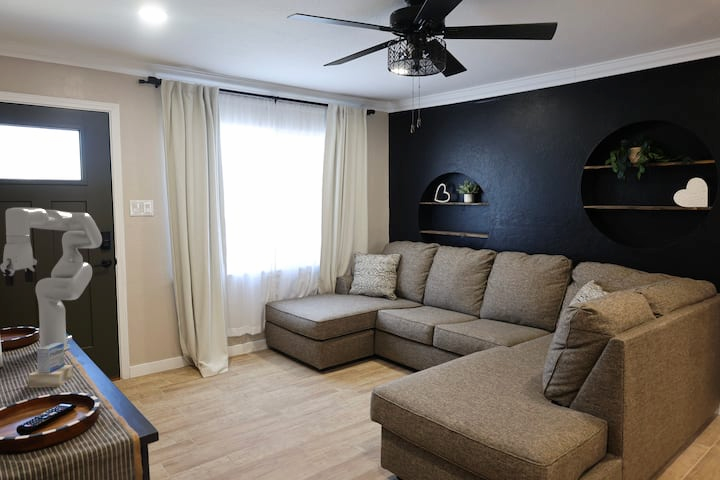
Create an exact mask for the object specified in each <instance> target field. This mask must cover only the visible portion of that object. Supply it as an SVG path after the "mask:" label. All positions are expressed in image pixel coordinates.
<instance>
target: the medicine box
mask: <svg viewBox="0 0 720 480" xmlns="http://www.w3.org/2000/svg"><path fill="white" fill-rule="evenodd" d="M36 349H37V348H36ZM36 354H37V355H36V357H37V370H38V373H51V372H53V371H55V370H57V369H59V368H61V367H63V366H64V365H66V364H65V351H64V343H52V344H49V345H47V346H44V347H42V348H39V349H37V352H36Z"/></svg>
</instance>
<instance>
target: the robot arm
mask: <svg viewBox="0 0 720 480" xmlns="http://www.w3.org/2000/svg"><path fill="white" fill-rule="evenodd" d="M31 228H33V229H39V230H53V231H62V232H63V231H65V232H64V233H63V234H62V238H61V244H62V252H63V253H62V256H61V258H60V259H59V260H58V262H57V263H55V265H54V267H53V269H52V271H51V272H50V277H45V278H42V279H40V280H39V281H37V283H36V285H35V295H36V299H37V304H38V315H39V316H38V318H39V344H40V345H39V346H38V347H36V349H35V352H36V353H37V349H39V348H42V347H44V346H47V345H49V344H52V343H64V352H66V351H68V350H70V348H71V344H69V343H68V342H69V341H71V340H72V339H73V337H72V335H68V336H67V330H66V329H67V327H66V321H67V320H66V307H65V305H64V303H63V301H73V300H77V299H79V298H80V297H81V295H83V292H84V291H85V289H86V288H87V286H88V285H89V283H90V282H91V280H92V277H93V268H92V265H91V264H89V263H88V262H86V261H83V260H84V258H83V255H82V254H81V253H80V251H79V250H78V249H96V248H99V247H101V245H102V243H103V237H102V234H101V230H100V229H99V228H98V226H97V224H96V222H95V220H94V219H93V218H92V215H90V214H89V213H87V212H72V211H71V212H70V211H63V210H57V209H43V208H40V207H11V208H7V209H6V210H5V231H6V232H5V235H6V238H5V239H6V244H5V245H4V249H3V257H2V261H3V262H2V263H1V264H0V270H1V273H2V274H3V276H5V278H4V281H5V284H4V286H5V287H14V286H15V285H16V284H15V275H14V274H15V272H16V271H20V270H25V272H24V282H25V283H34V282H35V279H34V278H35V276H34V272H36V271H35V269H36V268H37V263H38V259H35V258H34V253H33V247H32V244H31Z"/></svg>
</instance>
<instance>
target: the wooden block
mask: <svg viewBox="0 0 720 480" xmlns="http://www.w3.org/2000/svg"><path fill="white" fill-rule="evenodd" d="M73 377H74V364H65V365H64V366H63V367H61V368H59V369H57V370H55V371H53V372H51V373H38V369H36V370H35V371H33V372H31V373H29V374H28V388H57V387H58V388H60V387H61V386H63V385H64V384H65V383H66V382H69V380H71V379H72V378H73Z"/></svg>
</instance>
